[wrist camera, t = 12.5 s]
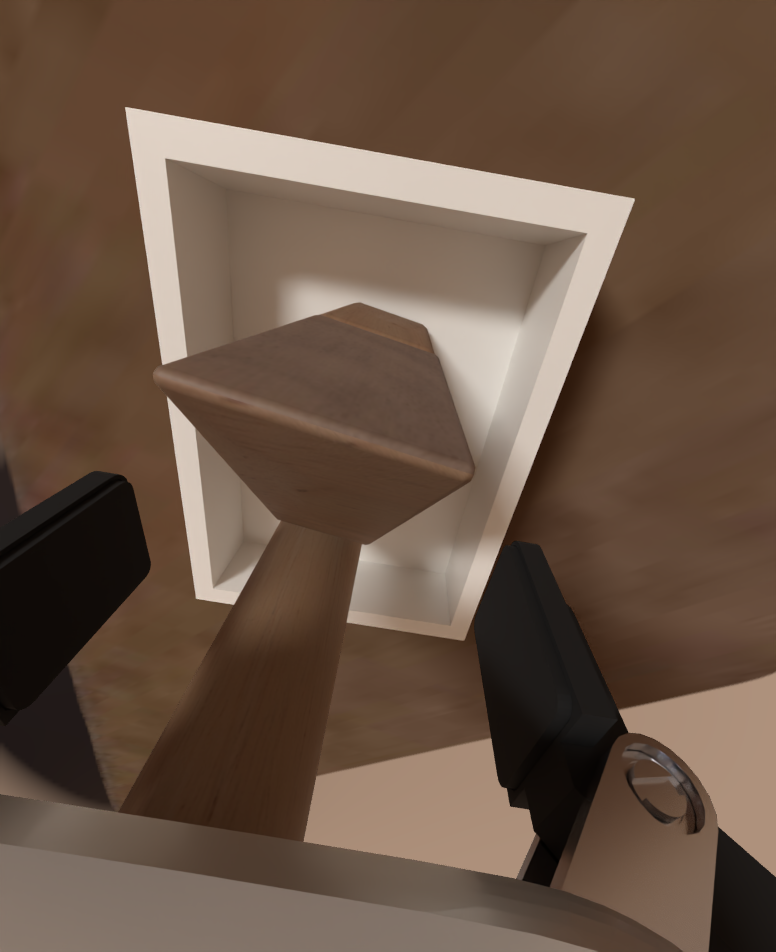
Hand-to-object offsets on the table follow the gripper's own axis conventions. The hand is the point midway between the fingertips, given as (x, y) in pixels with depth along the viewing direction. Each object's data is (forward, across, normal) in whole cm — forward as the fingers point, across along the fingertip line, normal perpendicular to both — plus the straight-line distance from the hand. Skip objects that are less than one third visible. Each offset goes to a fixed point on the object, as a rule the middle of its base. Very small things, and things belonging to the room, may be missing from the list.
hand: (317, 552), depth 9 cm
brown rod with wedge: (+11, 0, 0) cm, 11 cm away
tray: (+12, 0, +1) cm, 12 cm away
